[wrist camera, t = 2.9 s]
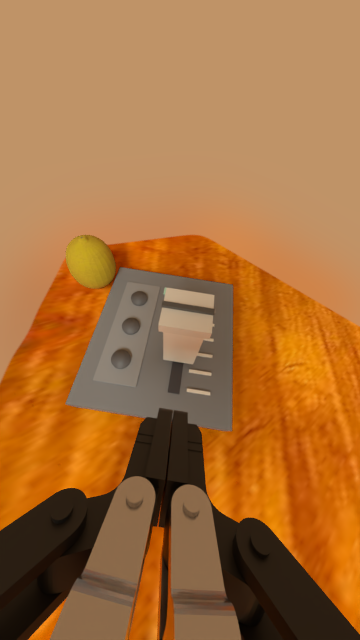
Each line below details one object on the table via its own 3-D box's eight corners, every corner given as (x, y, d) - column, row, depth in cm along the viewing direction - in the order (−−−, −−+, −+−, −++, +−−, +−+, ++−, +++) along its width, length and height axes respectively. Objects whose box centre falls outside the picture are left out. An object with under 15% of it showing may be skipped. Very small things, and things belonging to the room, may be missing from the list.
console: (229, 293, 30) (234, 281, 27) (226, 431, 21) (233, 430, 18) (122, 276, 30) (119, 263, 28) (73, 406, 21) (62, 403, 19)
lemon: (101, 264, 31) (85, 214, 24) (128, 283, 29) (118, 237, 22) (71, 285, 28) (42, 237, 21) (98, 307, 27) (77, 263, 20)
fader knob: (198, 338, 23) (216, 292, 15) (195, 367, 21) (213, 331, 14) (165, 333, 23) (166, 284, 15) (159, 361, 21) (157, 322, 14)
